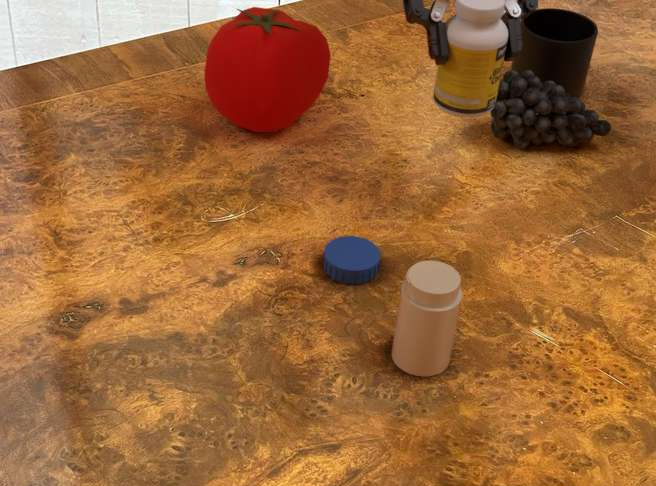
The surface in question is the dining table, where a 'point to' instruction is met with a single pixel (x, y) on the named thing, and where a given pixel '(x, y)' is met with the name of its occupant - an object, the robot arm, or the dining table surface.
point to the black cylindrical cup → (557, 48)
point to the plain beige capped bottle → (427, 318)
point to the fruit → (542, 113)
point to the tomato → (266, 69)
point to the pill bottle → (472, 59)
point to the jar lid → (351, 260)
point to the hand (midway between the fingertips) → (477, 60)
